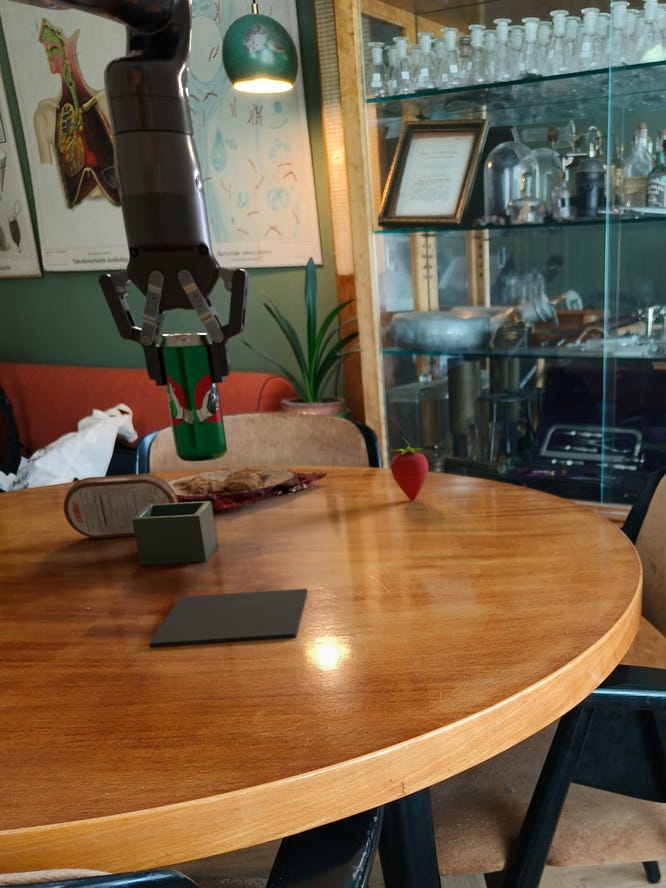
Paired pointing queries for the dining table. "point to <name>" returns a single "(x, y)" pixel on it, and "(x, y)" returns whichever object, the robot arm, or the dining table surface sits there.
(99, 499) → the tin
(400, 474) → the strawberry
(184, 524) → the box
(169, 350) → the soda can
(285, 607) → the mat
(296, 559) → the dining table surface
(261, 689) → the dining table surface
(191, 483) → the plate with food
